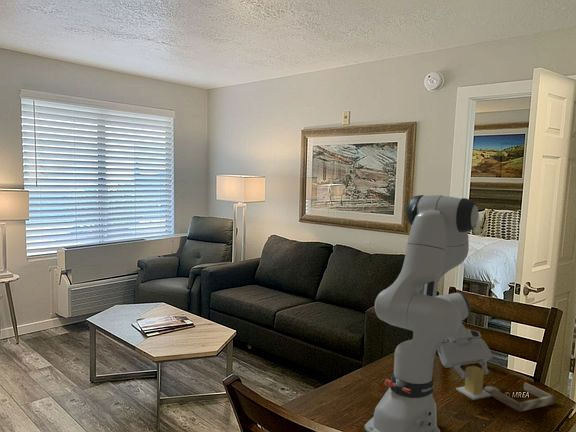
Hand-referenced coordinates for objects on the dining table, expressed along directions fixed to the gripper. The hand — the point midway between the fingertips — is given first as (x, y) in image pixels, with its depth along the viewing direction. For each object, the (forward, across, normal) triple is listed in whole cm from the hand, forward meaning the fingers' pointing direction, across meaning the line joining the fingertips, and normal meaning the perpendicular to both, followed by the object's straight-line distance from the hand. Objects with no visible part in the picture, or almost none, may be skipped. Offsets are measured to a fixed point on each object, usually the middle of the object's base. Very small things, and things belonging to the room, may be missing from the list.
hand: (475, 375), depth 152 cm
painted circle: (+4, +8, +5) cm, 10 cm away
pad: (+4, 0, +5) cm, 6 cm away
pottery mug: (-13, +12, +22) cm, 28 cm away
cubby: (+10, +12, -1) cm, 16 cm away
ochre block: (+4, 0, +4) cm, 6 cm away
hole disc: (+1, +6, +8) cm, 11 cm away
